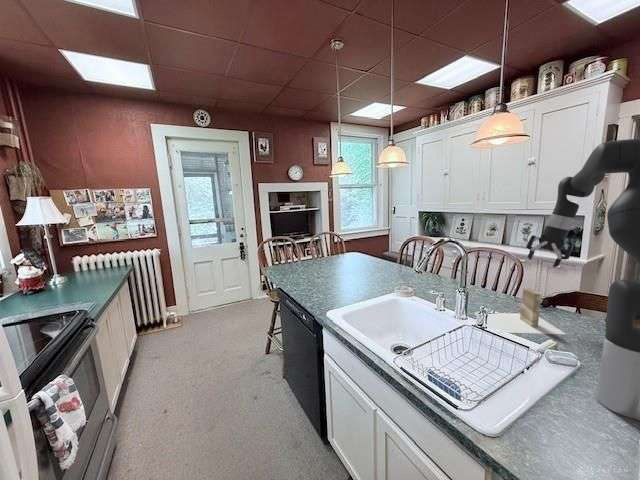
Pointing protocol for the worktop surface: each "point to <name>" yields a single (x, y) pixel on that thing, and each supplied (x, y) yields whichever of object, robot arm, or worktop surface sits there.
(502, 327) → the rubber mat
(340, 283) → the worktop surface
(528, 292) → the wooden tile
